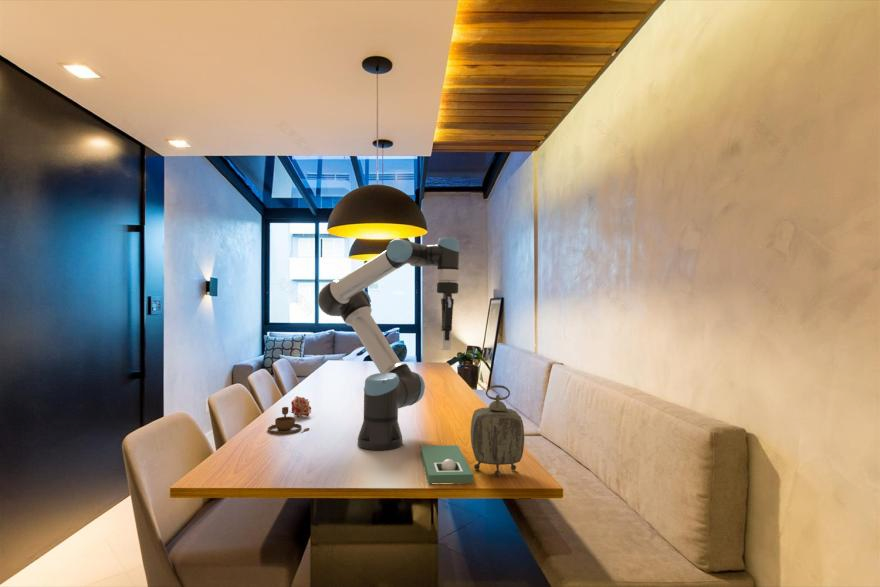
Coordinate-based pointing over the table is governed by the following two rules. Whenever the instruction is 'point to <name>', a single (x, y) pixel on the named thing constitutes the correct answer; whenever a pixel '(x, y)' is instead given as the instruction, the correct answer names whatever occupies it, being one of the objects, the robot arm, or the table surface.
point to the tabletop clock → (497, 434)
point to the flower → (300, 407)
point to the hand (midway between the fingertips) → (446, 349)
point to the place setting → (285, 424)
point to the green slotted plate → (435, 458)
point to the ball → (448, 465)
